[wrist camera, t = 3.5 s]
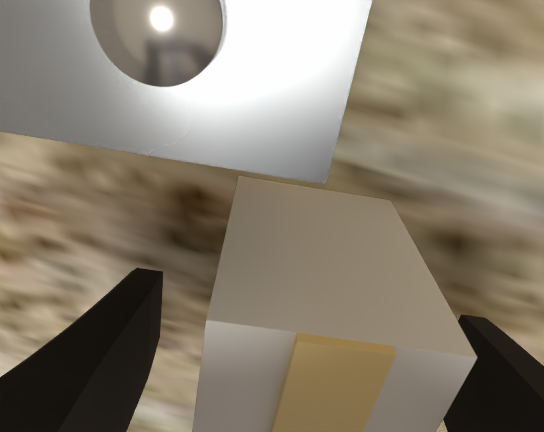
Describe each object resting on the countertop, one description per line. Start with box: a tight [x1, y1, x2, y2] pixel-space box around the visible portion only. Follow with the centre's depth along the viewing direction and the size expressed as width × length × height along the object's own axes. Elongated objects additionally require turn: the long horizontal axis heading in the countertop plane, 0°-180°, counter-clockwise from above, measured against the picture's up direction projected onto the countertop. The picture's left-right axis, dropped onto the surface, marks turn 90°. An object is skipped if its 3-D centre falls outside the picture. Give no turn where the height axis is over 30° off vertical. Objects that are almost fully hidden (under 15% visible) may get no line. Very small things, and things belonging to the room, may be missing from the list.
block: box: [192, 176, 477, 432], centre depth 10 cm, size 4×4×6 cm
